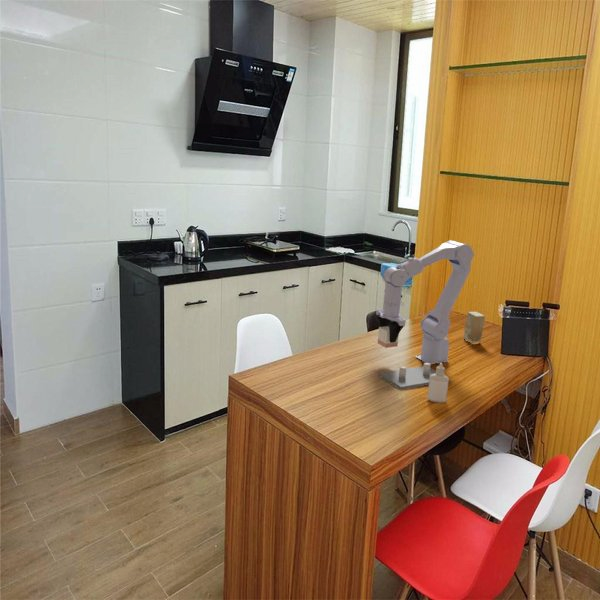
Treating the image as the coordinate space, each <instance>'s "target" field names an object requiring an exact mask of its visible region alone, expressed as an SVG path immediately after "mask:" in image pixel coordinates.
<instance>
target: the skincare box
mask: <svg viewBox="0 0 600 600" xmlns="http://www.w3.org/2000/svg"><path fill="white" fill-rule="evenodd" d="M485 318H486V316H485V315H484V314H482V313H480V312H478V311H467V315H466V321H465V328H464V333H463V339H464V338H465V339H466V340H468V341H470V342H471V343H474V342H481V343H482V338H483V337H482V336H483V332H484V331H483V330H484V326H485V325H484V324H485V320H486V319H485Z"/></svg>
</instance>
